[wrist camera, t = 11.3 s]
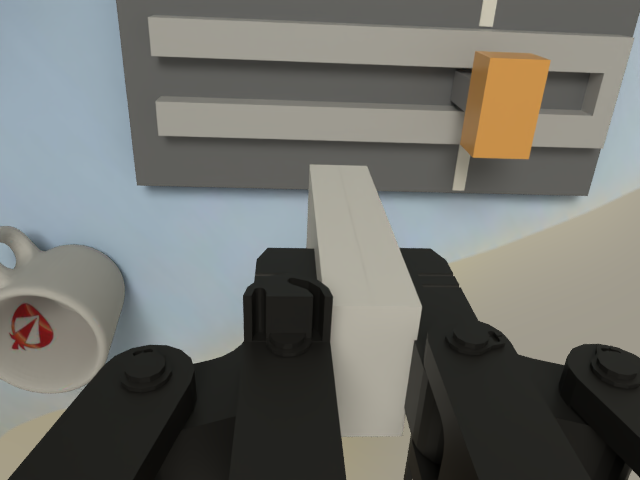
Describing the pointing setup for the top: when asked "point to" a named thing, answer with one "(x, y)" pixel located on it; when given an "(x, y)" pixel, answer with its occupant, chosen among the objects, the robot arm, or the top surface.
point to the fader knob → (500, 103)
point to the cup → (56, 314)
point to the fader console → (362, 90)
